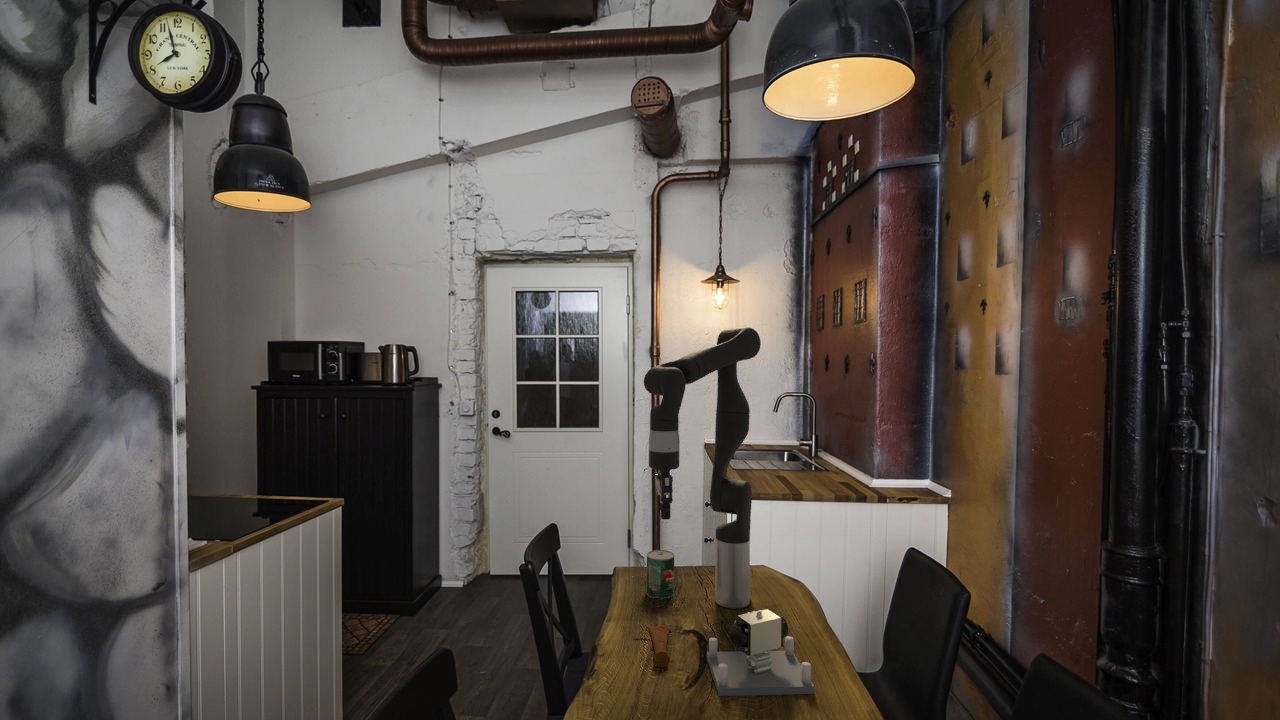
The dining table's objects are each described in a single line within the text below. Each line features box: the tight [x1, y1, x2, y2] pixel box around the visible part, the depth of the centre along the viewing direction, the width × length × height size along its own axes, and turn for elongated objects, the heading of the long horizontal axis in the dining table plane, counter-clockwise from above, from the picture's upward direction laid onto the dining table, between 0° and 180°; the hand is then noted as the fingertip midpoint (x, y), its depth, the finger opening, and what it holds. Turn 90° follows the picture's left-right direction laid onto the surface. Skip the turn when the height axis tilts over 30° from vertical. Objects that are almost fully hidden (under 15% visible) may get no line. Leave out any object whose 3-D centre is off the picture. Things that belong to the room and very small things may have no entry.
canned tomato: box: [645, 549, 675, 600], centre depth 162 cm, size 8×8×11 cm
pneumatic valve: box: [729, 608, 789, 674], centre depth 120 cm, size 6×12×12 cm, turn 115°
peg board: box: [706, 635, 815, 697], centre depth 120 cm, size 19×14×5 cm
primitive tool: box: [647, 624, 672, 668], centre depth 132 cm, size 19×6×4 cm, turn 2°
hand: (663, 514), depth 141 cm, fingers open, 8 cm apart
